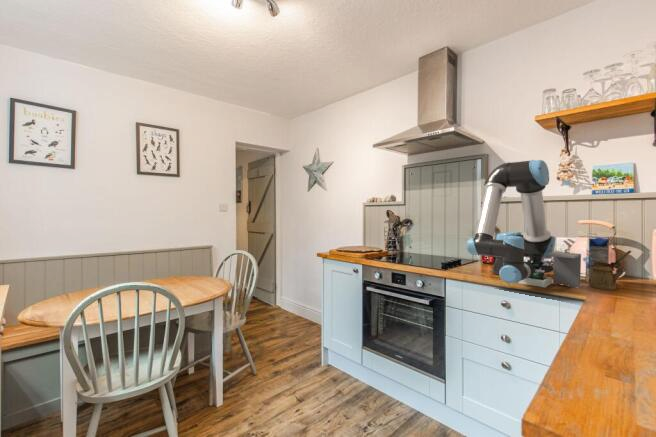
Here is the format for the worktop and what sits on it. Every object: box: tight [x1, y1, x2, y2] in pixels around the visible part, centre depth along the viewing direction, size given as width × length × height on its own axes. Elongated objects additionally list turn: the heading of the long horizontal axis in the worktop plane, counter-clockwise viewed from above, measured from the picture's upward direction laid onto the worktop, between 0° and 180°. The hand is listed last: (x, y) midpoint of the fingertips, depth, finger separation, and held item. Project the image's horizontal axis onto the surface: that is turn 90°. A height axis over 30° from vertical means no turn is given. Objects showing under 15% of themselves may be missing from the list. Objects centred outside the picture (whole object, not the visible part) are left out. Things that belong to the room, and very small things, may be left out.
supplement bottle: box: [526, 254, 545, 280], centre depth 144 cm, size 7×7×12 cm
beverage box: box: [585, 236, 610, 285], centre depth 147 cm, size 7×11×22 cm, turn 145°
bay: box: [547, 251, 582, 289], centre depth 137 cm, size 10×11×16 cm
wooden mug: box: [588, 250, 632, 291], centre depth 136 cm, size 9×14×18 cm, turn 45°
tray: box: [518, 276, 553, 288], centre depth 145 cm, size 11×11×3 cm
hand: (538, 265), depth 147 cm, fingers closed on supplement bottle, 7 cm apart
